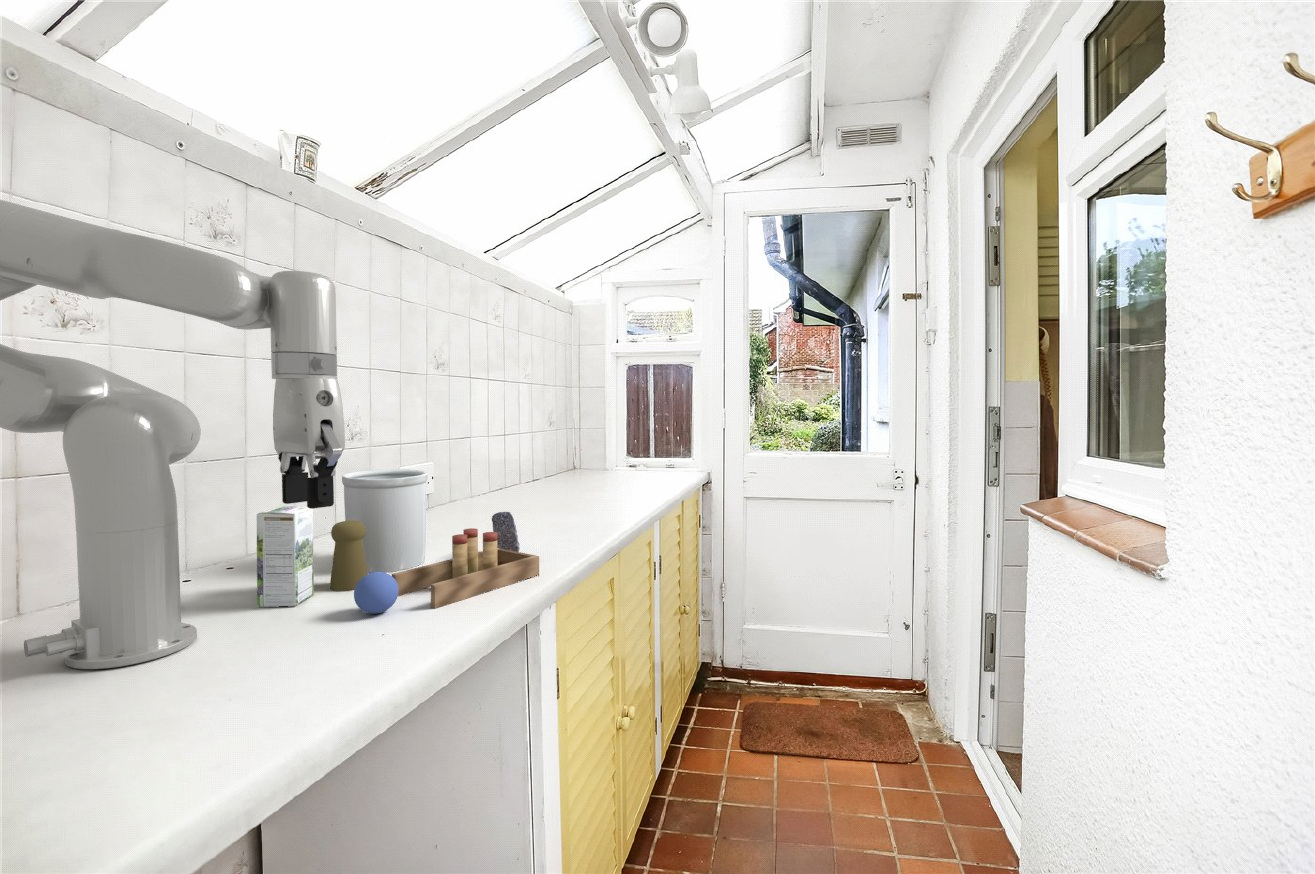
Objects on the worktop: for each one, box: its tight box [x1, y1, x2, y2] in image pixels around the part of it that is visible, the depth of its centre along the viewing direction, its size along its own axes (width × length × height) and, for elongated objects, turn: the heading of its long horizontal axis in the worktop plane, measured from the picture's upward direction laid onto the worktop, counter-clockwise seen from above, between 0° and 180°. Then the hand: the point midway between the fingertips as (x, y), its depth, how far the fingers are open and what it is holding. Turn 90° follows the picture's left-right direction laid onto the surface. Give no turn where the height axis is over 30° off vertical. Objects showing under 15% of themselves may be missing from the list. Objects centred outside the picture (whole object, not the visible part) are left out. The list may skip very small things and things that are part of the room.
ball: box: [353, 572, 399, 615], centre depth 91 cm, size 6×6×6 cm
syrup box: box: [256, 505, 314, 608], centre depth 95 cm, size 6×6×14 cm
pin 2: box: [482, 531, 497, 570], centre depth 105 cm, size 2×2×9 cm
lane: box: [391, 548, 540, 609], centre depth 105 cm, size 22×11×4 cm, turn 146°
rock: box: [491, 511, 521, 552], centre depth 123 cm, size 12×5×10 cm, turn 20°
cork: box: [329, 520, 369, 592], centre depth 103 cm, size 6×6×11 cm
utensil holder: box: [341, 468, 428, 574], centre depth 118 cm, size 15×15×18 cm
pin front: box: [451, 533, 468, 578], centre depth 103 cm, size 2×2×9 cm
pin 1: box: [462, 527, 479, 574], centre depth 108 cm, size 2×2×9 cm
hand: (308, 503), depth 82 cm, fingers open, 5 cm apart
